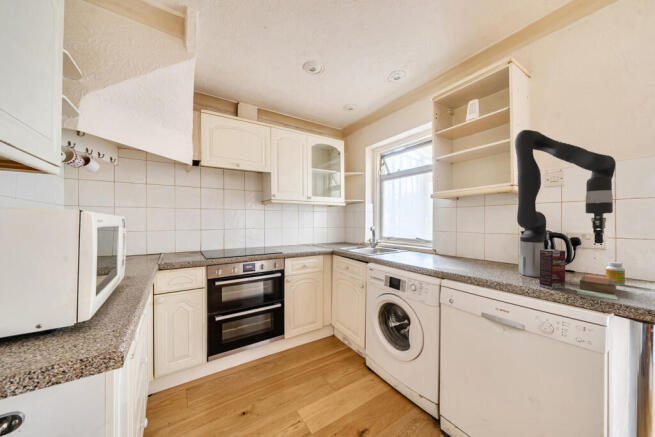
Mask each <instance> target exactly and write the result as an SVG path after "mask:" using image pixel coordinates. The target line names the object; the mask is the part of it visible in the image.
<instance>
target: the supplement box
mask: <svg viewBox="0 0 655 437" xmlns="http://www.w3.org/2000/svg"><path fill="white" fill-rule="evenodd" d="M566 251H567V250H564V249H557V248H556V249H553V248H551V249H544V250H540V277H539V280H538V281H539V284H538V286H539V287H541V288H544V287H545V288H546V289H548V288H549V289H550V290H555V289H565V288H566ZM549 289H548V290H549Z"/></svg>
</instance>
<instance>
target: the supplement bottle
mask: <svg viewBox="0 0 655 437" xmlns="http://www.w3.org/2000/svg"><path fill="white" fill-rule="evenodd" d="M607 262H608V264H607V266H606V268H605V277H609V279H616V286H625V285H626V281H625V280H626V275H625V274H626V273H625V268H624V267H623V263H622V262H619V261H618V262H617V261H607Z"/></svg>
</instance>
